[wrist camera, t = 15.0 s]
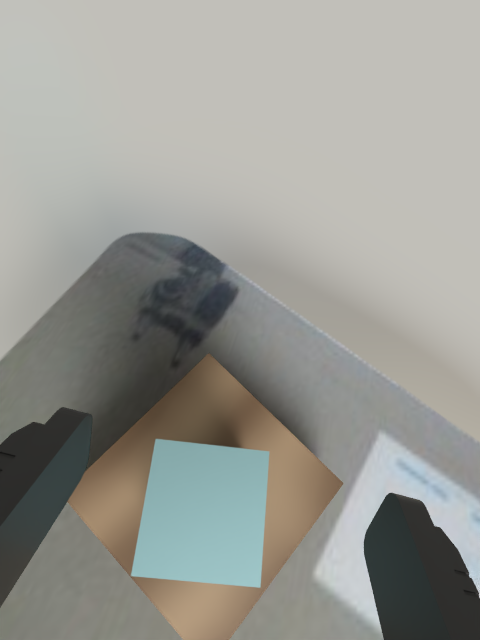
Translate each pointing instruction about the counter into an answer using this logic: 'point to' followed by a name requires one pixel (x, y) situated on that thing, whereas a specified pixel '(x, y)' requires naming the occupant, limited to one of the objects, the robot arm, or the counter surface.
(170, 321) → the counter surface
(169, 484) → the teal block
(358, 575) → the counter surface
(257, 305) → the counter surface
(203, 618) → the walnut block
